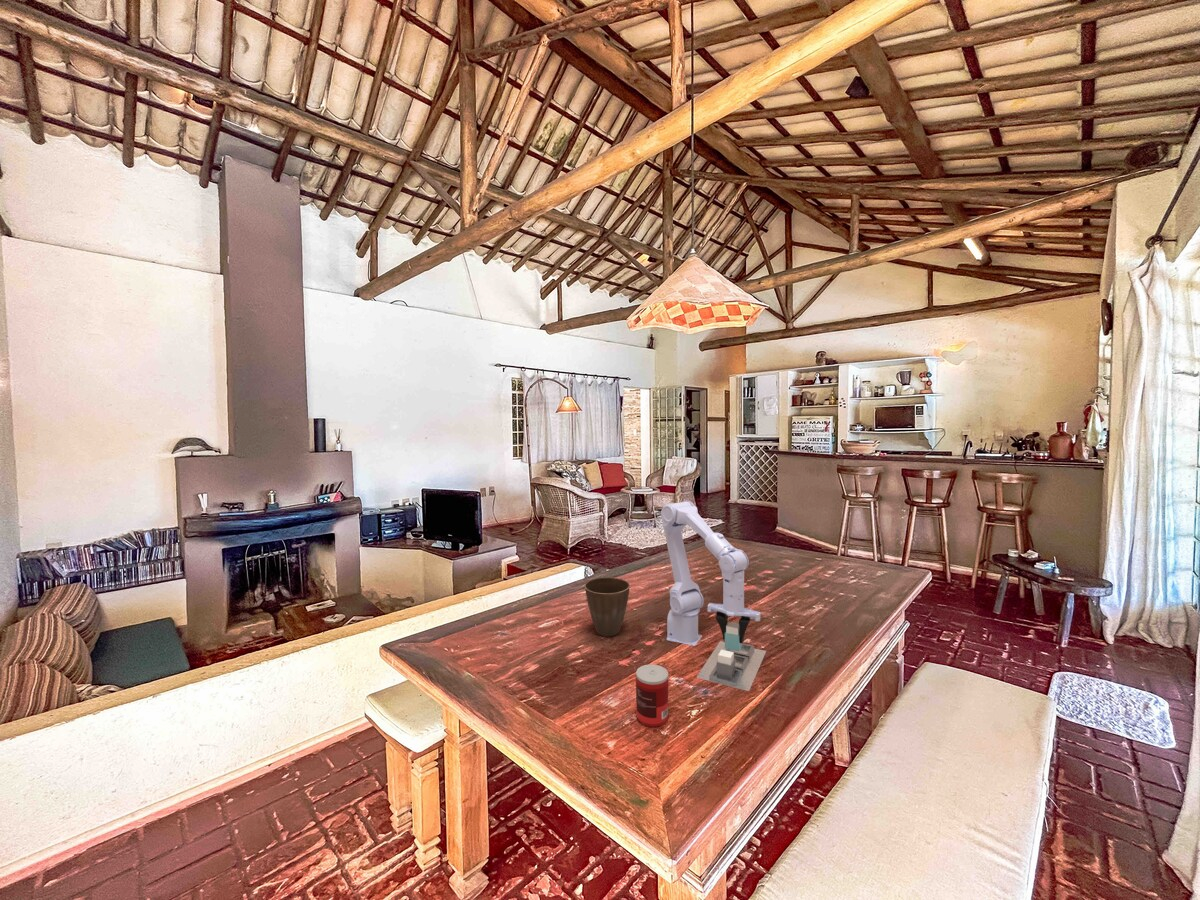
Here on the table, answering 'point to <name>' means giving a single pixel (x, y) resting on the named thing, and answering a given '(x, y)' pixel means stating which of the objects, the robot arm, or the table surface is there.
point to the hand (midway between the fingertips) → (733, 640)
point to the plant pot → (607, 603)
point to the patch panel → (744, 666)
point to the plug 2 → (726, 665)
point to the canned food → (652, 695)
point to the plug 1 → (732, 637)
